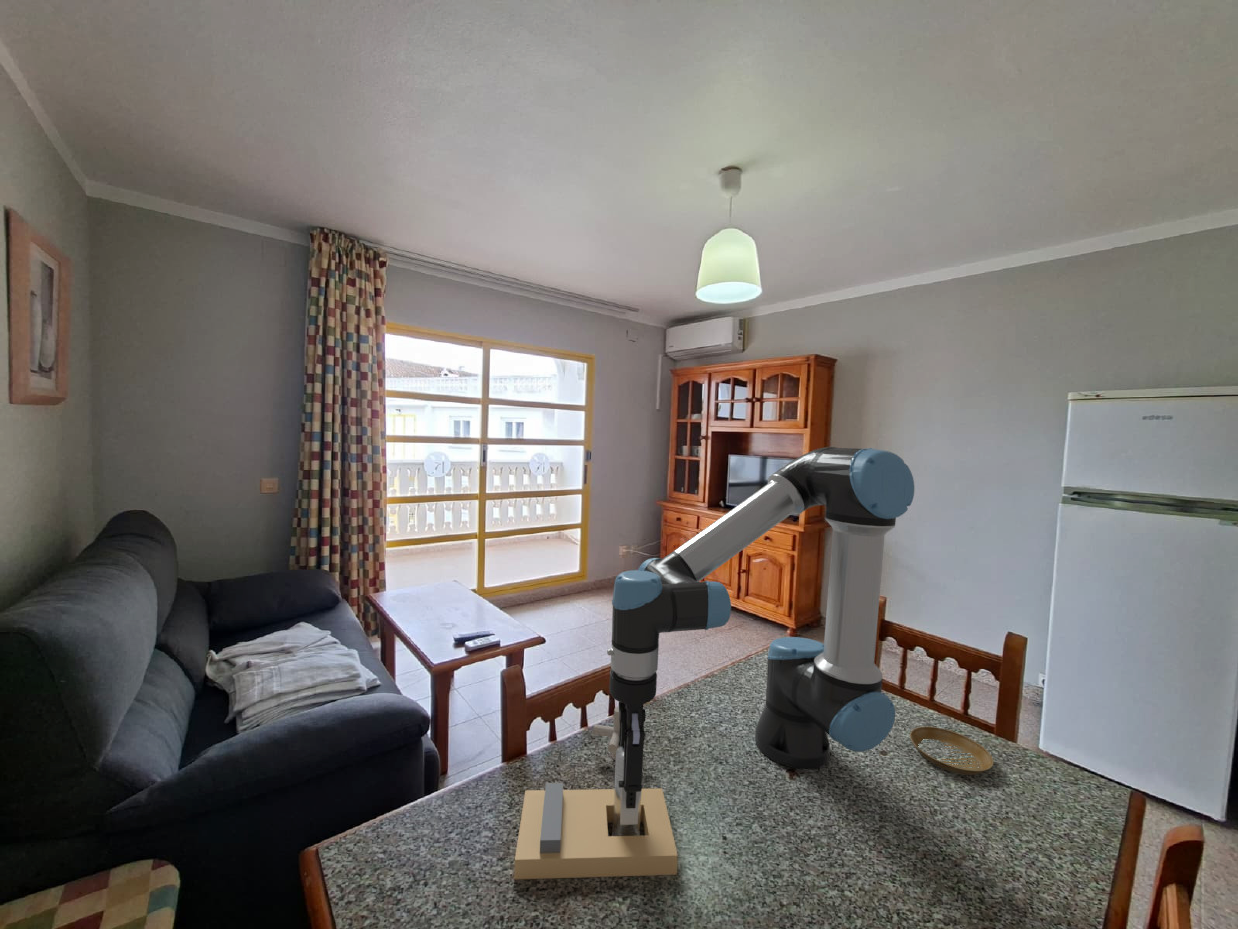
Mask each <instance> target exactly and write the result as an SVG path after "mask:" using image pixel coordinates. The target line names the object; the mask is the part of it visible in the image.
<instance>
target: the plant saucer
mask: <svg viewBox="0 0 1238 929" xmlns="http://www.w3.org/2000/svg"><path fill="white" fill-rule="evenodd" d="M909 739H910V741H911V742H912V744H913V745H914V747H915V748H916V750H917V751H918V752H919V754H921V755H922V756H923V758H924V759H925V760H927V761H928V760H929V761H928V762H930V763H931V764H932V765H934V764H935V765H934V766H936V767H938V768H940V769H942V770H944V769H945V770H944V771H947V770H948V771H947V772H951V773H952V774H953V773H954V774H957V773H958V774H957V775H962V774H963V776H974V775H978V774H982V773H984V772H987V771H988V770H990V769H991V768H992V767H993V766H994V763H995V762H994V758H993V756H992V754H990V751H988V750H987V749H986V748H985V747H984V746H982V745H981V743H980V744H979V743H978V742H977V741H975V740H973V739H972V738H969V737H968V736H965V735H964V734H961V733H958V732H956V731H952V730H950V729H946V728H940V727H934V726H926V725H925V726H919V727H915V728H913V729H912V730H910V733H909ZM923 739H934V740H939V741H941V743H948V745H946V744H945V745H944V746H951V749H954V748H955V747H957V748H955V749H963V750H961V753H971V754H969V755H967V756H971V755H972V756H974V757H972V758H970V759H969V758H968V759H967V758H965V759H964V758H961V759H959V758H958V760H968V761H964V762H963V761H961V762H957V761H955V762H953V761H951V762H949V761H948V762H946V761H943V762H942V761H939V760H937V759H935V758H933V757H931V756H929V755H928V754H926V753H925V752H923V751H922V750H921V749H919V748H918V746H919V745H918V744H919V743H921V741H922V740H923ZM941 746H942V745H941ZM952 746H955V747H952ZM944 749H945V748H944ZM948 749H950V748H948ZM963 751H965V752H963ZM951 753H953V752H951ZM955 753H957V752H956V751H955ZM958 753H960V752H959V751H958ZM951 756H952V755H951ZM955 756H956V755H955ZM961 756H964V755H961ZM974 758H975V759H974ZM949 759H950V758H948V759H941V760H949ZM950 760H957V759H954V758H952V759H950ZM970 760H972V761H970ZM974 760H975V761H974ZM969 761H970V762H969ZM946 763H951V764H946ZM952 763H961V764H962V763H966V764H962V765H961V764H958V765H957V764H956V765H955V764H953V765H952ZM968 763H972V764H968ZM977 763H979V764H977ZM967 764H968V765H967ZM959 767H961V768H959ZM963 767H965V768H963ZM969 767H972V768H969ZM977 767H979V768H977Z"/></svg>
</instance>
